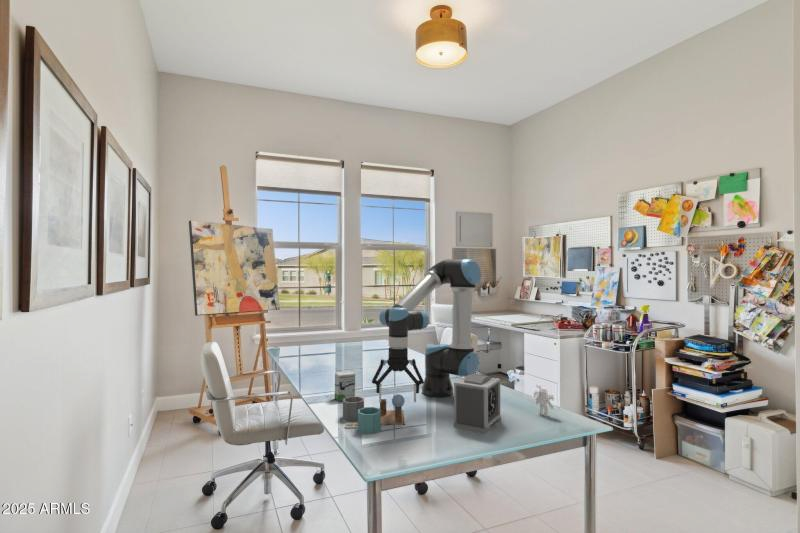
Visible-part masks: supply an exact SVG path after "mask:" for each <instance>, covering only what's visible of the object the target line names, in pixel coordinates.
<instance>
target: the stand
mask: <svg viewBox="0 0 800 533" xmlns="http://www.w3.org/2000/svg"><path fill="white" fill-rule="evenodd" d="M402 407H403V406H402ZM402 407H399V408H397V407H395V406H394V409H393V410H392V409H391V410H390V409H388V410H387V399H386V398H381V402H379V409H381V426H405V425H406V424H405V423H406V420H405V412H404V411H405V410H403V408H402Z"/></svg>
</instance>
